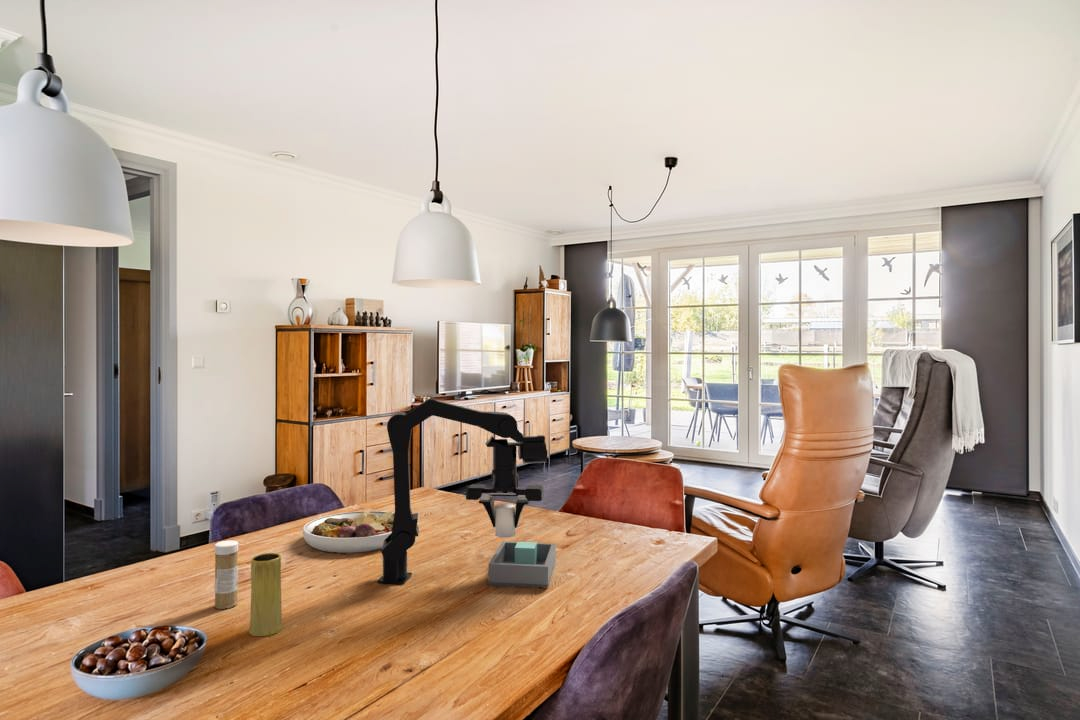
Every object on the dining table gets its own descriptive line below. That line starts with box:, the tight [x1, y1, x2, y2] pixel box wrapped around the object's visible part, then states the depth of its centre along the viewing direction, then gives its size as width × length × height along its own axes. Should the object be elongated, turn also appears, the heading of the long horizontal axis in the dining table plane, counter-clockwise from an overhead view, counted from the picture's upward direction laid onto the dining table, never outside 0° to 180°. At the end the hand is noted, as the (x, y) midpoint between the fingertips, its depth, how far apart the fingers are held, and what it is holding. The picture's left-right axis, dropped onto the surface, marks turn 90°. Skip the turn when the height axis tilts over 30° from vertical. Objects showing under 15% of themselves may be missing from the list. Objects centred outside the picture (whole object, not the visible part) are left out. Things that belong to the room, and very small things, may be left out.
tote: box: [487, 540, 557, 588], centre depth 153 cm, size 18×14×5 cm
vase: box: [248, 552, 284, 637], centre depth 120 cm, size 6×6×14 cm
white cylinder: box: [494, 503, 516, 539], centre depth 153 cm, size 5×5×7 cm
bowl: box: [302, 510, 395, 554], centre depth 181 cm, size 30×30×8 cm
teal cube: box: [515, 541, 538, 565], centre depth 157 cm, size 5×5×5 cm
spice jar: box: [213, 539, 239, 610], centre depth 132 cm, size 5×5×14 cm
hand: (505, 527), depth 153 cm, fingers closed on white cylinder, 5 cm apart
